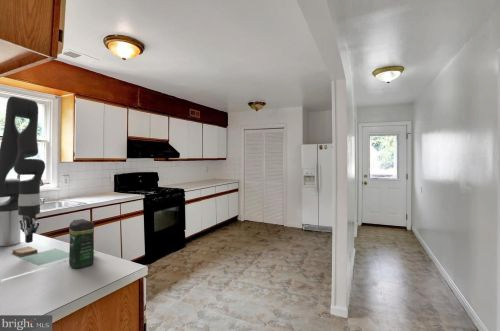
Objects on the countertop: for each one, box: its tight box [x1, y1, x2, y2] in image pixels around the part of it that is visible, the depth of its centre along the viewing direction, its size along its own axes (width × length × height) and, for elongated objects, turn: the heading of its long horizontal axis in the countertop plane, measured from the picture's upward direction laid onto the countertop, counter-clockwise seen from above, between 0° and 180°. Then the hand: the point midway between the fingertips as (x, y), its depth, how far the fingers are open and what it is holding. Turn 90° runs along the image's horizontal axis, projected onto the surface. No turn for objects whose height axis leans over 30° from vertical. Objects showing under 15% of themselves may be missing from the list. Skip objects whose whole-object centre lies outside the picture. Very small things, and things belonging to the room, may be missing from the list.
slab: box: [12, 246, 39, 258], centre depth 120 cm, size 2×6×9 cm
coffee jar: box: [68, 218, 95, 269], centre depth 109 cm, size 10×8×19 cm
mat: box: [19, 248, 69, 266], centre depth 116 cm, size 17×14×1 cm
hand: (28, 242), depth 117 cm, fingers closed
